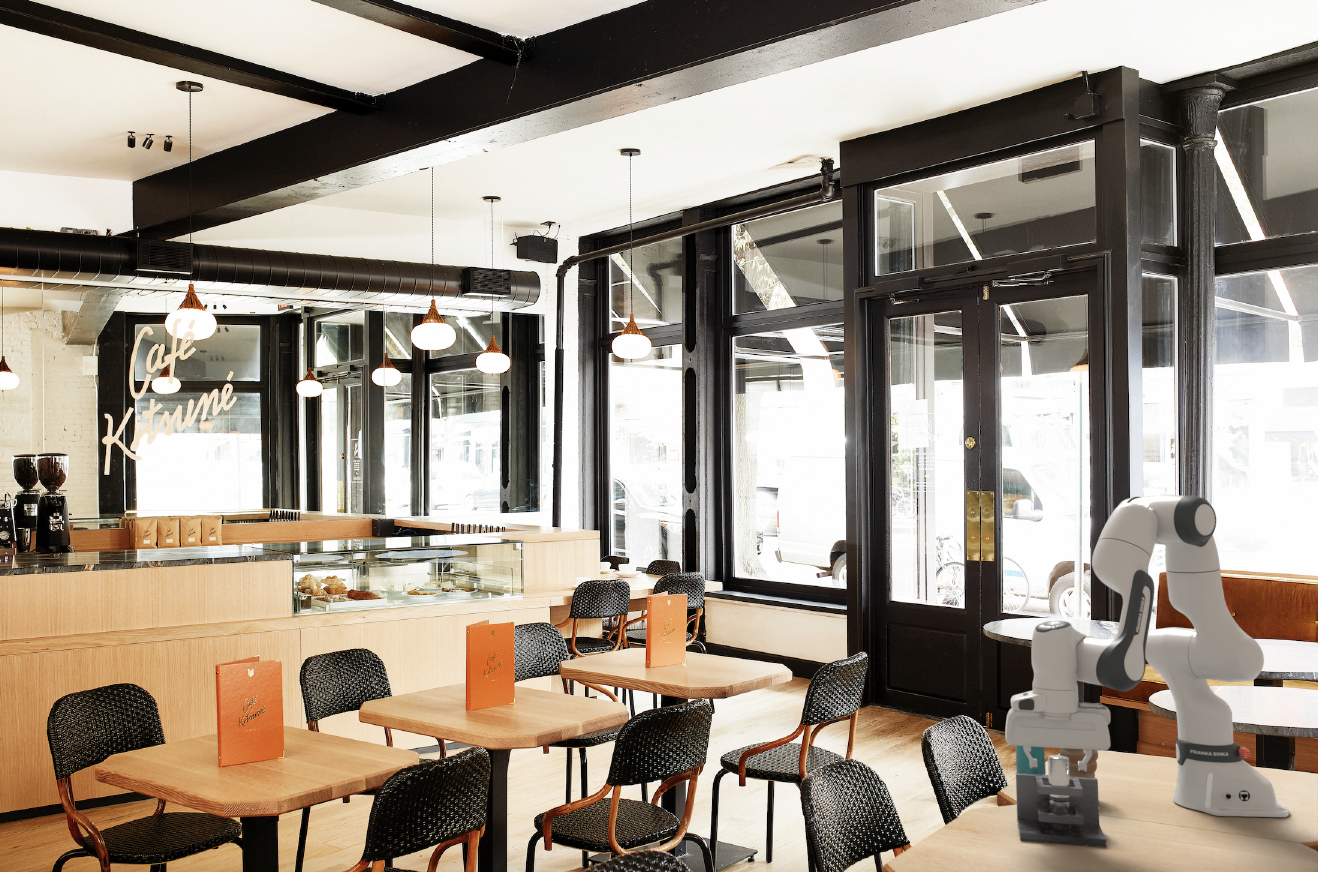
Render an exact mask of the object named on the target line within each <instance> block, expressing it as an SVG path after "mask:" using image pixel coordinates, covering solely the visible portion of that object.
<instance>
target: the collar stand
mask: <svg viewBox="0 0 1318 872" xmlns="http://www.w3.org/2000/svg"><path fill="white" fill-rule="evenodd" d="M1098 781H1099V780H1098V778H1097V777H1095V778H1087V777H1071V776H1069V783H1070V787H1066V786H1051V785H1049V776H1048V774H1045V775H1040V774H1024V773H1017V772H1016V773H1015V788H1016V789H1015V790H1016V795H1015V796H1016V823H1018V824H1017V828H1018V829H1019V830H1018V829H1017V830H1018V836H1019V840H1020V841H1023V842H1034V843H1036V842H1035V841H1037V842H1038V843H1046V842H1047V844H1060V845H1061V844H1062V845H1071V844H1074V845H1073V846H1084V845H1085V846H1086V845H1088V846H1086V847H1095V846H1097V848H1107V839H1106V836H1105V833H1104V832H1103V829H1102V826H1101V825H1100V806H1099V805H1100V804H1099V803H1100V801H1099V782H1098ZM1049 794H1050V795H1064V796H1070V815H1069V814H1055V813H1049ZM1050 822H1052V823H1065V824H1071V829H1070V830H1056V829H1053V828H1051V827H1050ZM1085 846H1084V847H1085Z"/></svg>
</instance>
